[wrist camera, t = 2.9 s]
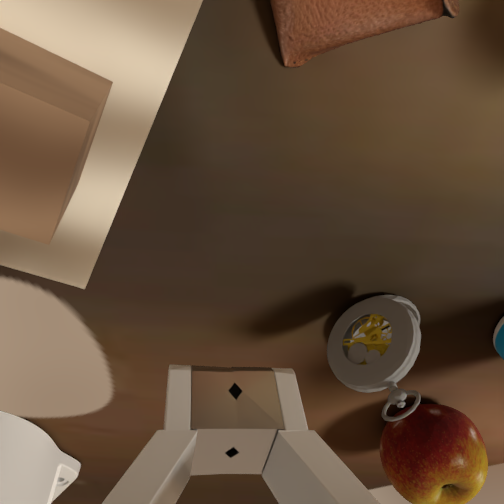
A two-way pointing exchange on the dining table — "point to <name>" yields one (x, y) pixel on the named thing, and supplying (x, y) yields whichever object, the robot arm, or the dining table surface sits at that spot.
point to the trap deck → (113, 117)
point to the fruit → (434, 455)
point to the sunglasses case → (345, 22)
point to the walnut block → (43, 134)
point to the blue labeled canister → (499, 338)
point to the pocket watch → (377, 347)
